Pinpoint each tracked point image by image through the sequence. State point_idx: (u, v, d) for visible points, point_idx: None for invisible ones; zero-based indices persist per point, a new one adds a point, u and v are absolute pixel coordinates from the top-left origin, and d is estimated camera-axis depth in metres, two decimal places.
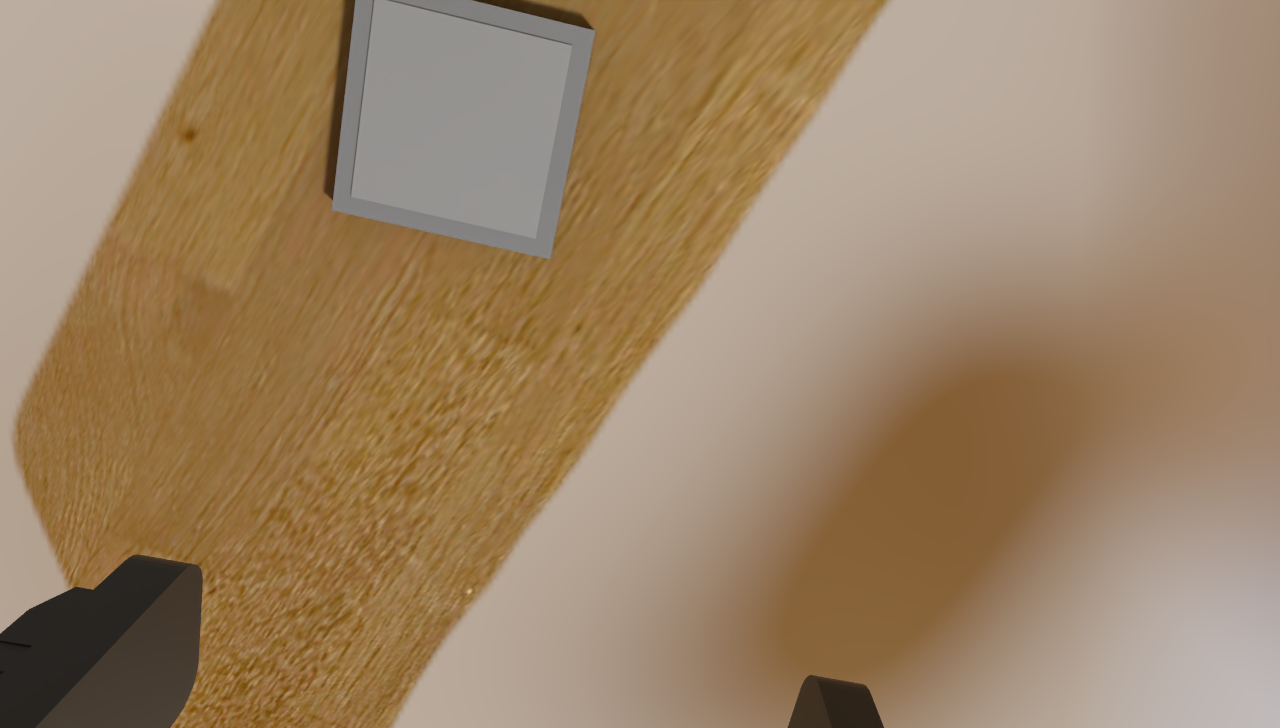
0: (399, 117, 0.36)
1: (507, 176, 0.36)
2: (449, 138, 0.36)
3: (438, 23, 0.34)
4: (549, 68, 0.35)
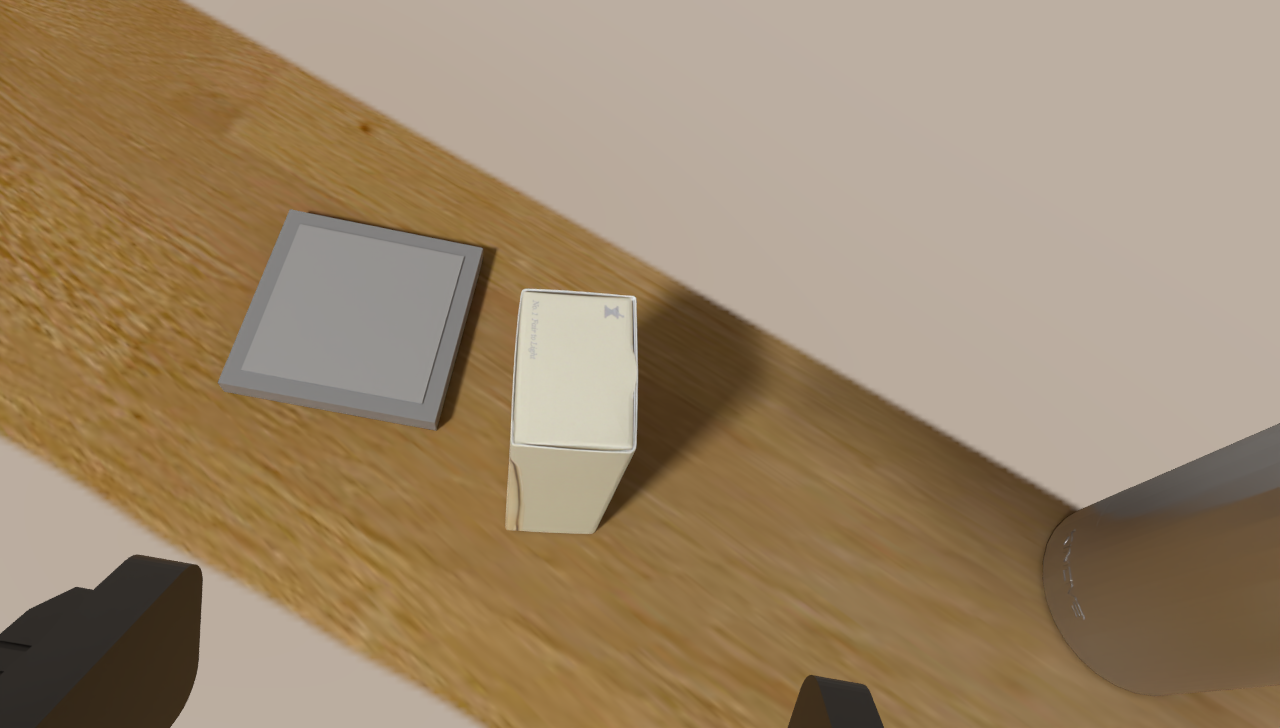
0: (366, 265, 0.41)
1: (306, 347, 0.39)
2: (345, 302, 0.40)
3: (442, 299, 0.41)
4: (402, 385, 0.39)
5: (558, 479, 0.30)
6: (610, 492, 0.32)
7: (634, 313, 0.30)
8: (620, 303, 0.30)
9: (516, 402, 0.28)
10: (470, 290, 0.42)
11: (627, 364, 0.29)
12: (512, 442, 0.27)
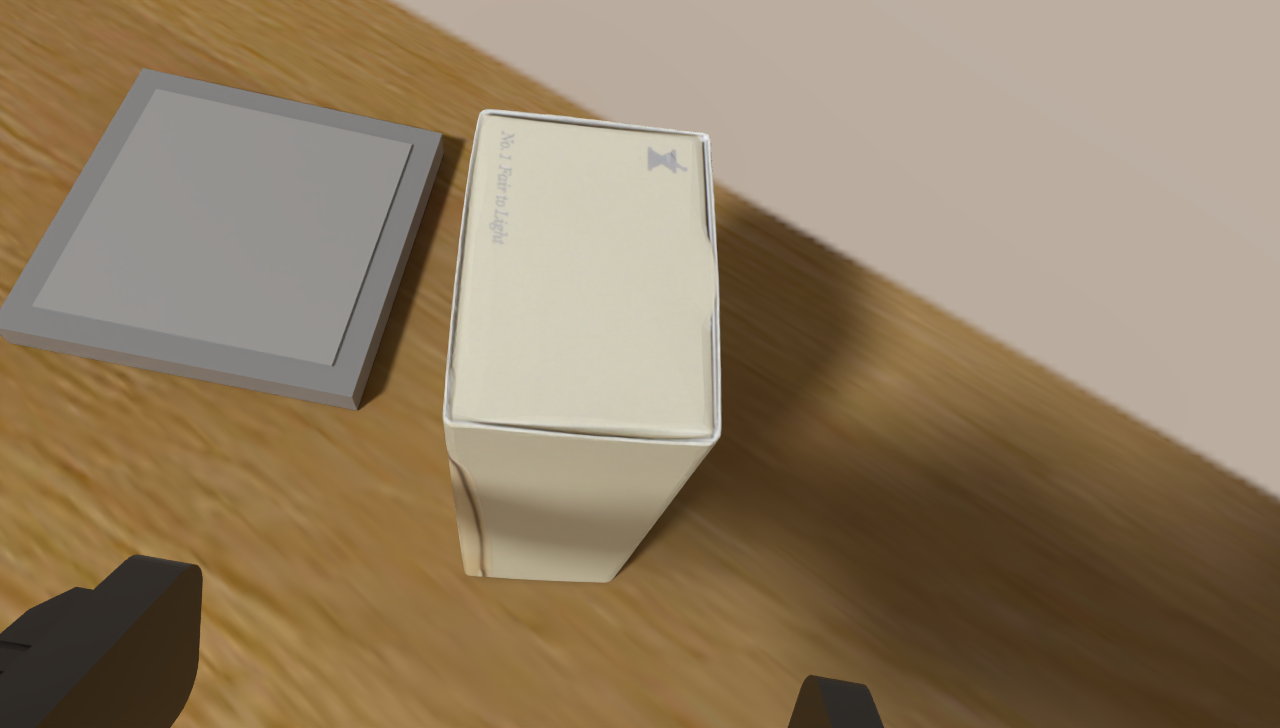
0: (257, 153, 0.26)
1: (146, 272, 0.24)
2: (218, 205, 0.25)
3: (375, 206, 0.26)
4: (302, 335, 0.24)
5: (550, 497, 0.15)
6: (650, 521, 0.17)
7: (708, 165, 0.15)
8: (679, 145, 0.15)
9: (459, 333, 0.13)
10: (420, 194, 0.27)
11: (695, 260, 0.14)
12: (446, 418, 0.12)
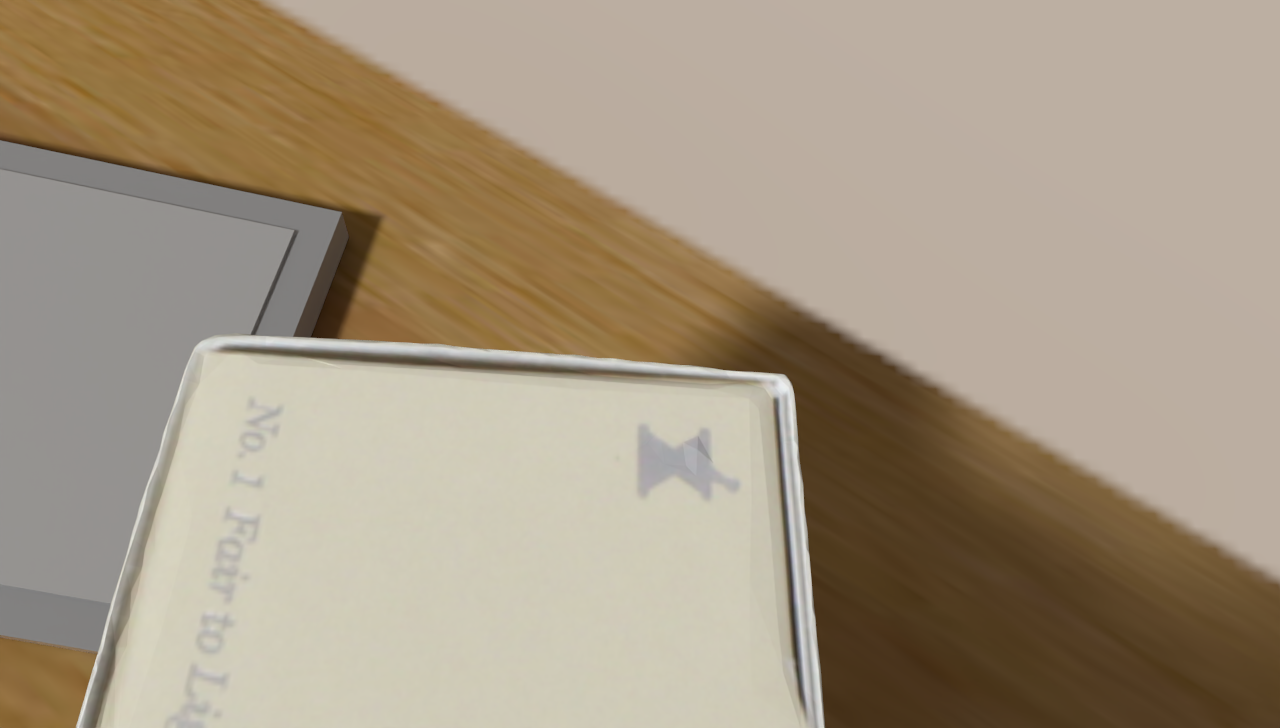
0: (54, 248, 0.17)
1: None
2: None
3: (230, 330, 0.17)
4: (92, 555, 0.15)
5: None
6: None
7: (791, 466, 0.06)
8: (718, 415, 0.06)
9: None
10: (302, 308, 0.18)
11: None
12: None
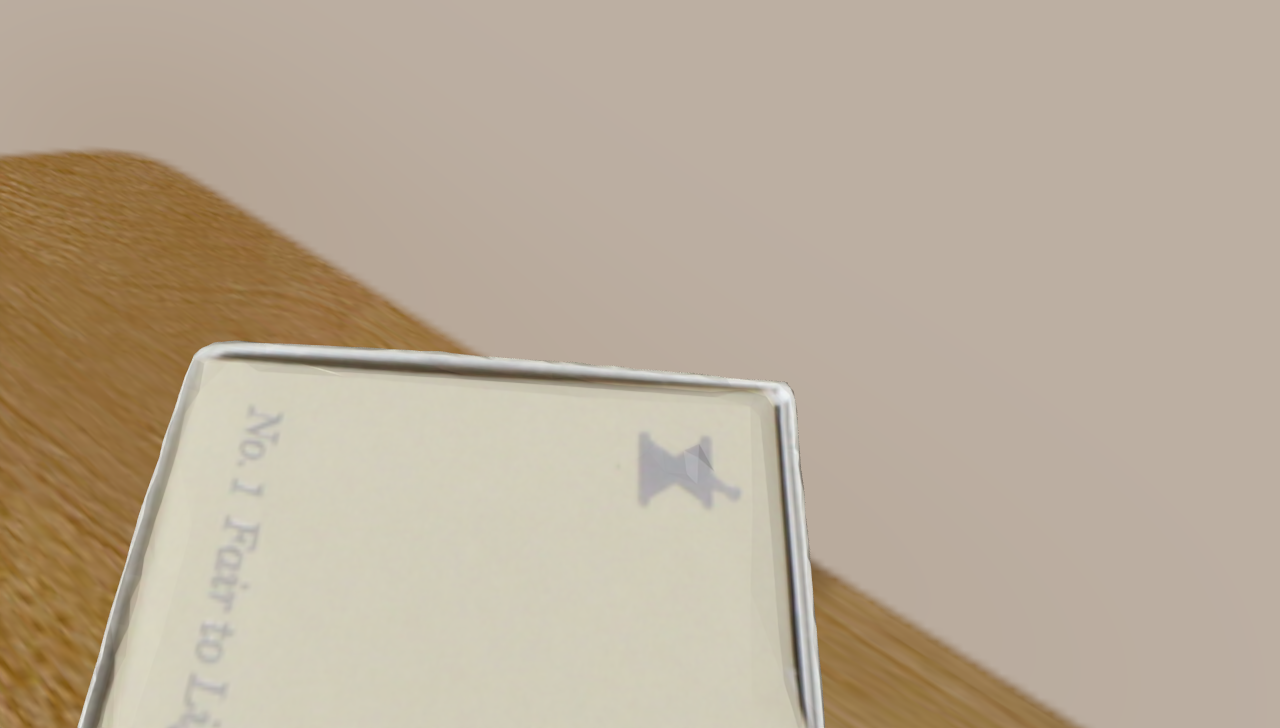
0: None
1: None
2: None
3: None
4: None
5: None
6: None
7: (792, 476, 0.06)
8: (720, 424, 0.06)
9: None
10: None
11: None
12: None
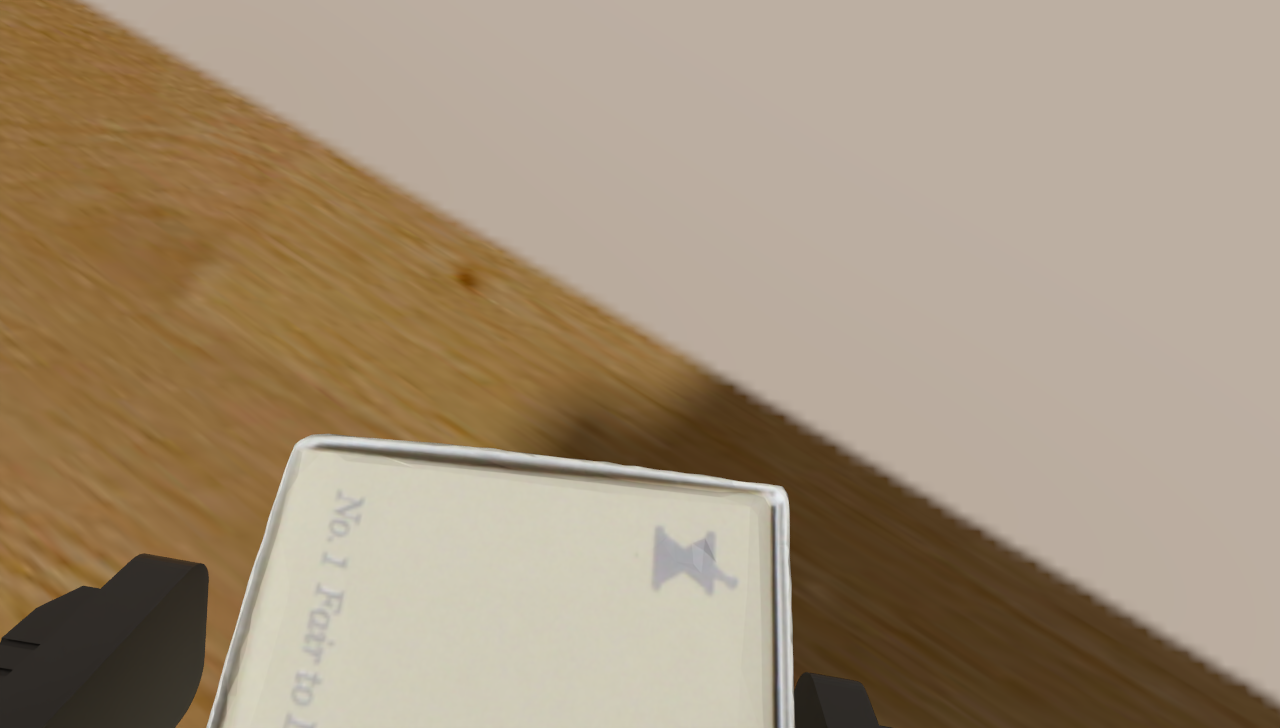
0: None
1: None
2: None
3: None
4: None
5: None
6: None
7: (782, 568, 0.07)
8: (724, 521, 0.07)
9: None
10: None
11: None
12: None
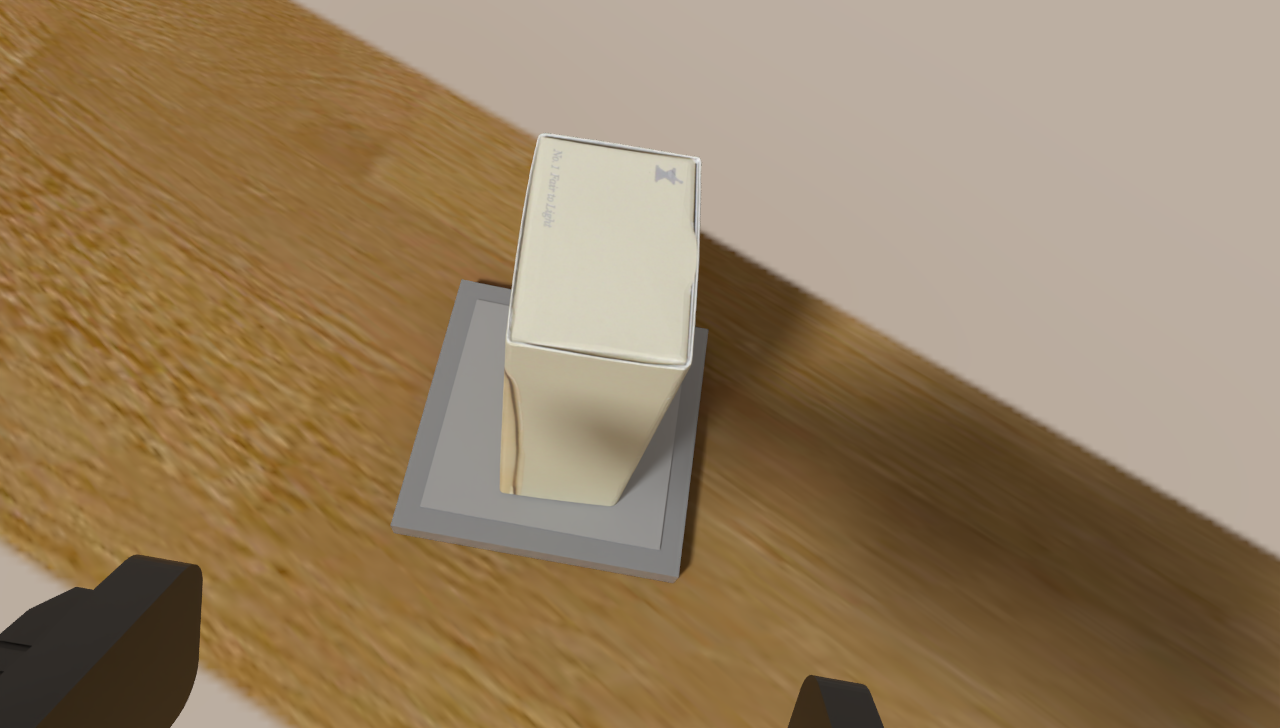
0: None
1: None
2: None
3: None
4: (630, 523, 0.29)
5: (572, 412, 0.21)
6: (644, 440, 0.23)
7: (698, 180, 0.21)
8: (678, 165, 0.21)
9: (518, 285, 0.19)
10: (700, 387, 0.32)
11: (684, 246, 0.20)
12: (508, 339, 0.18)
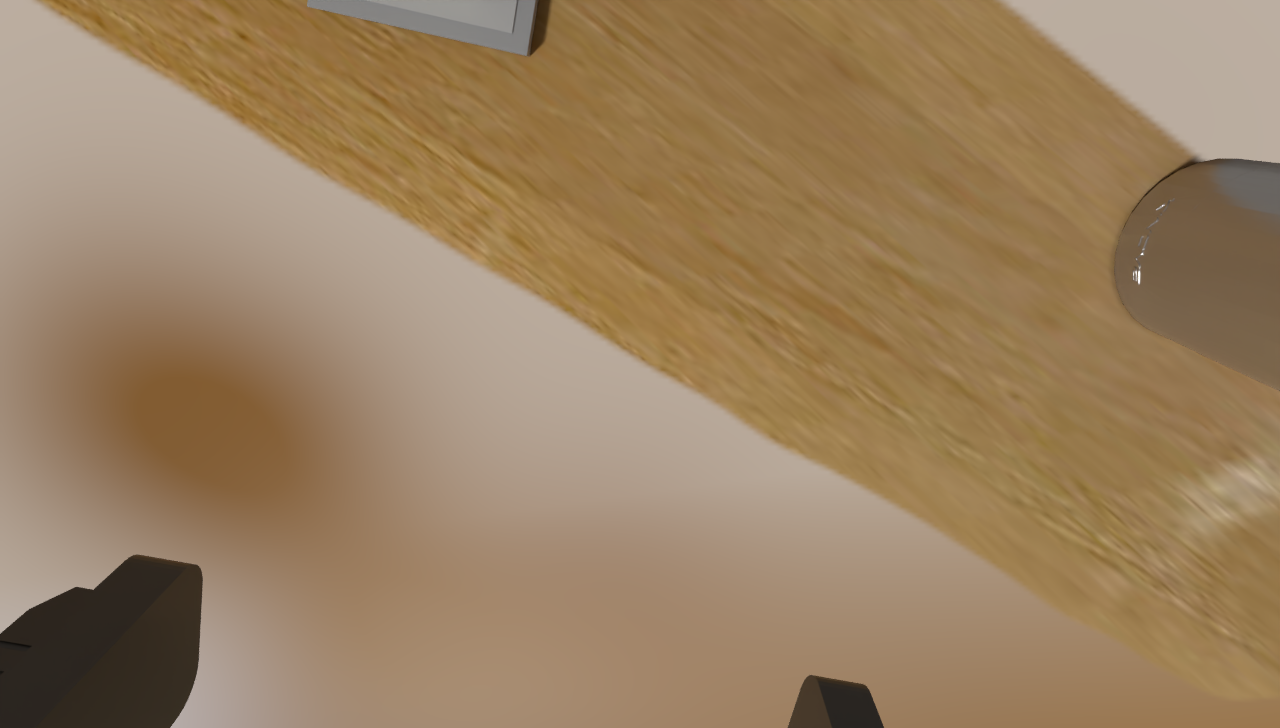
0: None
1: None
2: None
3: None
4: (490, 9, 0.37)
5: None
6: None
7: None
8: None
9: None
10: None
11: None
12: None
